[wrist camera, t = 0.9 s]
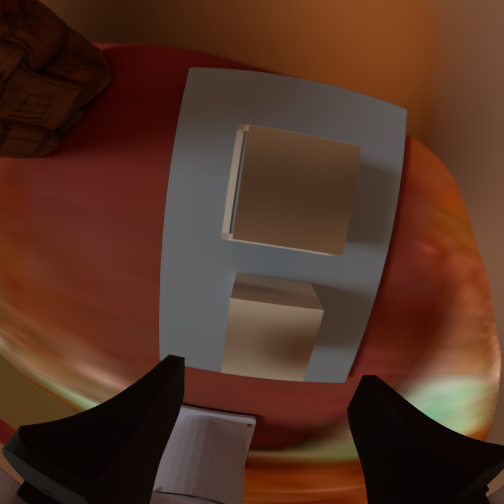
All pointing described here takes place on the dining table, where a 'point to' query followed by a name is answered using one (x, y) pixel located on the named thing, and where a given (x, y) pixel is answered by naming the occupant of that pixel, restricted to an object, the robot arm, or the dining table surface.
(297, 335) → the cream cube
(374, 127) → the mat
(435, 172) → the dining table surface
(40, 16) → the wooden figurine
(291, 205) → the walnut base block
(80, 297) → the dining table surface
